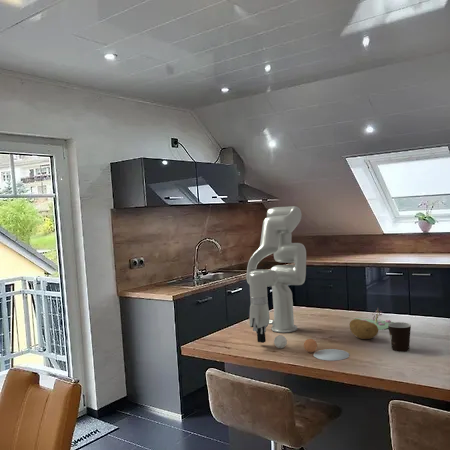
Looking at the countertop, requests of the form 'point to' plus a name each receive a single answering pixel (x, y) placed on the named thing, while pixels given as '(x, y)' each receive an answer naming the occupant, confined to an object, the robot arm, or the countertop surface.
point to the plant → (378, 322)
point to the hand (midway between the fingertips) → (261, 341)
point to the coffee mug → (399, 336)
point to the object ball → (310, 345)
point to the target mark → (331, 354)
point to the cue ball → (280, 341)
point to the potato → (363, 329)
